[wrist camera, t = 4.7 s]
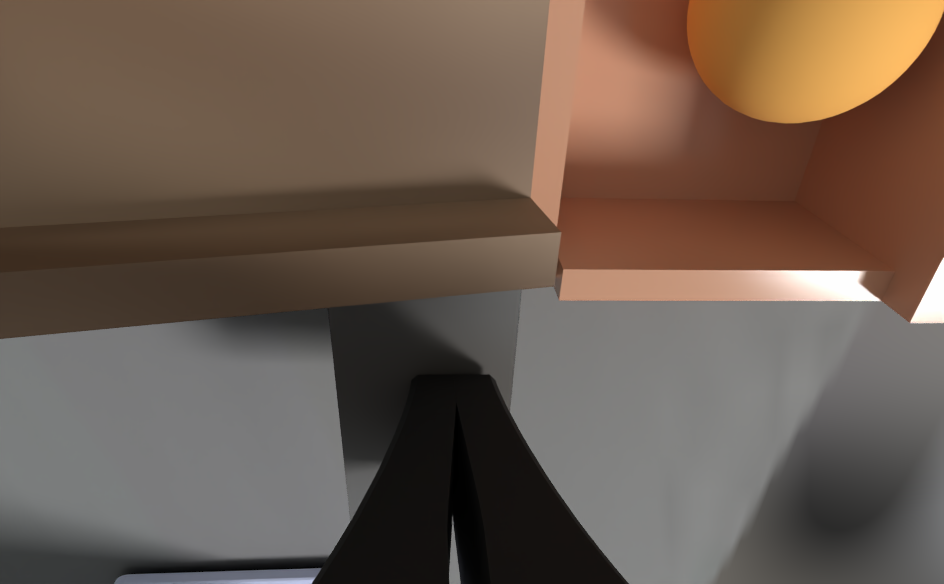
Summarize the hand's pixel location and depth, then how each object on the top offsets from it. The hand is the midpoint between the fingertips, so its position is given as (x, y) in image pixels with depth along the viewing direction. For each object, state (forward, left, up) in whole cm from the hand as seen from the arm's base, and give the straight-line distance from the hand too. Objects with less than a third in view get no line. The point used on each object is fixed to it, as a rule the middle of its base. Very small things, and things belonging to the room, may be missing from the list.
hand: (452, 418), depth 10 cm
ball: (+6, -5, -2) cm, 9 cm away
